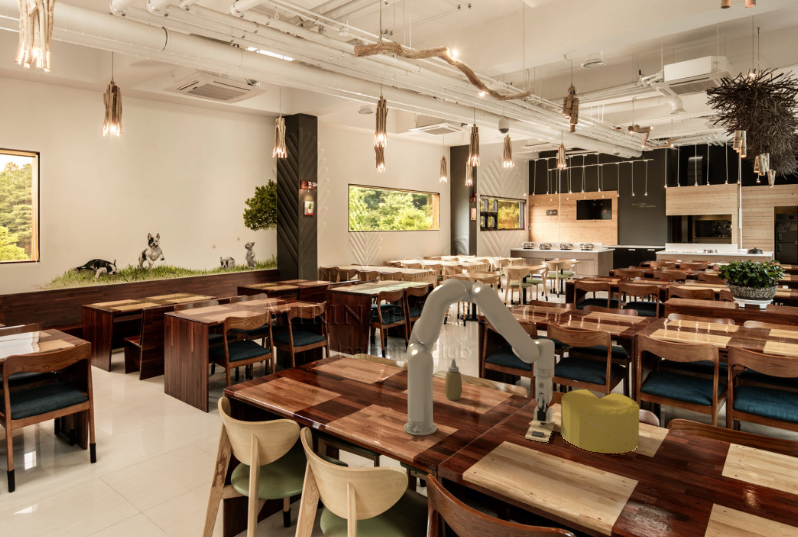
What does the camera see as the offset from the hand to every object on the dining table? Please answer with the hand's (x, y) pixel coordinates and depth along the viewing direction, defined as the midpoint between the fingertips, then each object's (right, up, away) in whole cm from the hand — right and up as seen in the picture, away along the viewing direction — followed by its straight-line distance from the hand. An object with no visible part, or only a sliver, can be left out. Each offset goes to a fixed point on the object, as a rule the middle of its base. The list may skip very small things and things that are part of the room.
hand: (542, 417), depth 187 cm
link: (0, -1, 0) cm, 1 cm away
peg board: (-2, -4, -4) cm, 6 cm away
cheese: (+17, -5, -11) cm, 21 cm away
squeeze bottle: (-31, -2, +33) cm, 45 cm away
